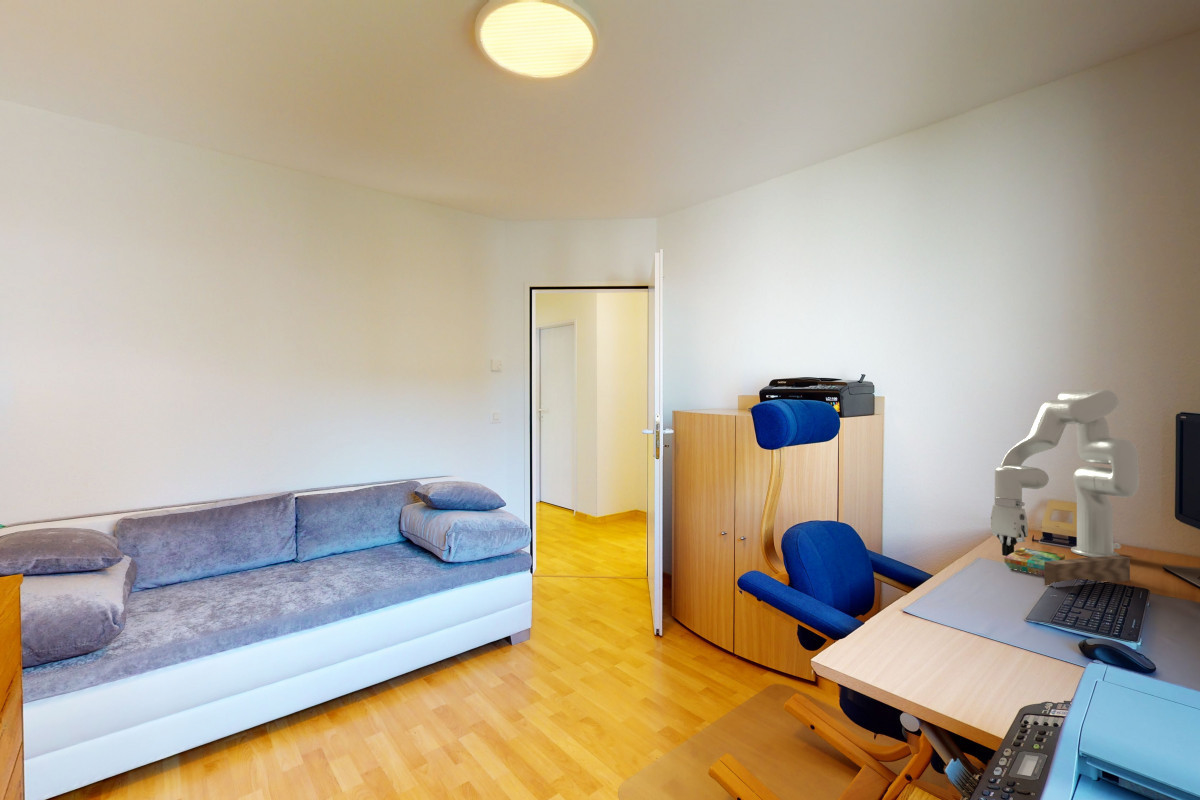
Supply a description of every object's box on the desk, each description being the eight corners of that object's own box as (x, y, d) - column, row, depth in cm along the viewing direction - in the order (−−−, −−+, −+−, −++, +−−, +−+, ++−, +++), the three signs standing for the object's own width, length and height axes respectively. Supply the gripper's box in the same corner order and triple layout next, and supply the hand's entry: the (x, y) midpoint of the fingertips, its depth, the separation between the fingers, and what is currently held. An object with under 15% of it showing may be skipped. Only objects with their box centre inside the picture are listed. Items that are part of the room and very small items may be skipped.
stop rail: (1118, 577, 164) (1118, 555, 164) (1129, 580, 161) (1129, 557, 161) (1044, 585, 156) (1044, 561, 156) (1055, 588, 153) (1055, 564, 153)
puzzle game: (1004, 555, 172) (1021, 545, 184) (1004, 569, 172) (1021, 558, 184) (1050, 563, 163) (1065, 552, 175) (1050, 578, 163) (1065, 566, 175)
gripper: (1039, 506, 176) (1038, 561, 175) (995, 498, 190) (995, 549, 190) (1021, 507, 174) (1021, 562, 174) (979, 499, 188) (979, 550, 188)
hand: (1008, 555), depth 182 cm, fingers closed
